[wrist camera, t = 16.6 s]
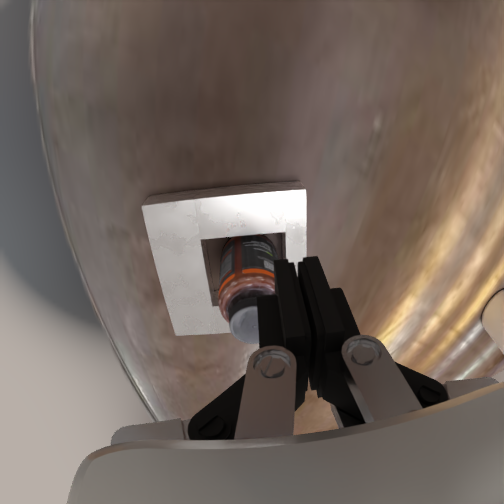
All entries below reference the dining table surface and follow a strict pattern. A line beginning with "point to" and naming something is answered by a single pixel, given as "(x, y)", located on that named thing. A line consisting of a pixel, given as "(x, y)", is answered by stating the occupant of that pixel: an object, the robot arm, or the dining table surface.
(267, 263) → the supplement bottle
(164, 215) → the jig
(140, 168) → the dining table surface
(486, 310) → the alcohol
